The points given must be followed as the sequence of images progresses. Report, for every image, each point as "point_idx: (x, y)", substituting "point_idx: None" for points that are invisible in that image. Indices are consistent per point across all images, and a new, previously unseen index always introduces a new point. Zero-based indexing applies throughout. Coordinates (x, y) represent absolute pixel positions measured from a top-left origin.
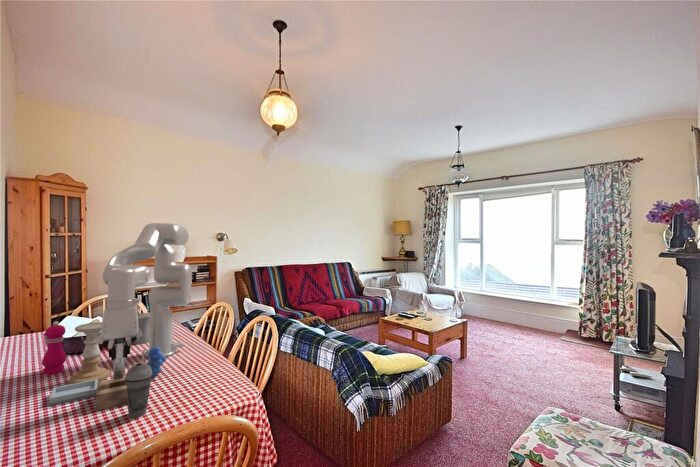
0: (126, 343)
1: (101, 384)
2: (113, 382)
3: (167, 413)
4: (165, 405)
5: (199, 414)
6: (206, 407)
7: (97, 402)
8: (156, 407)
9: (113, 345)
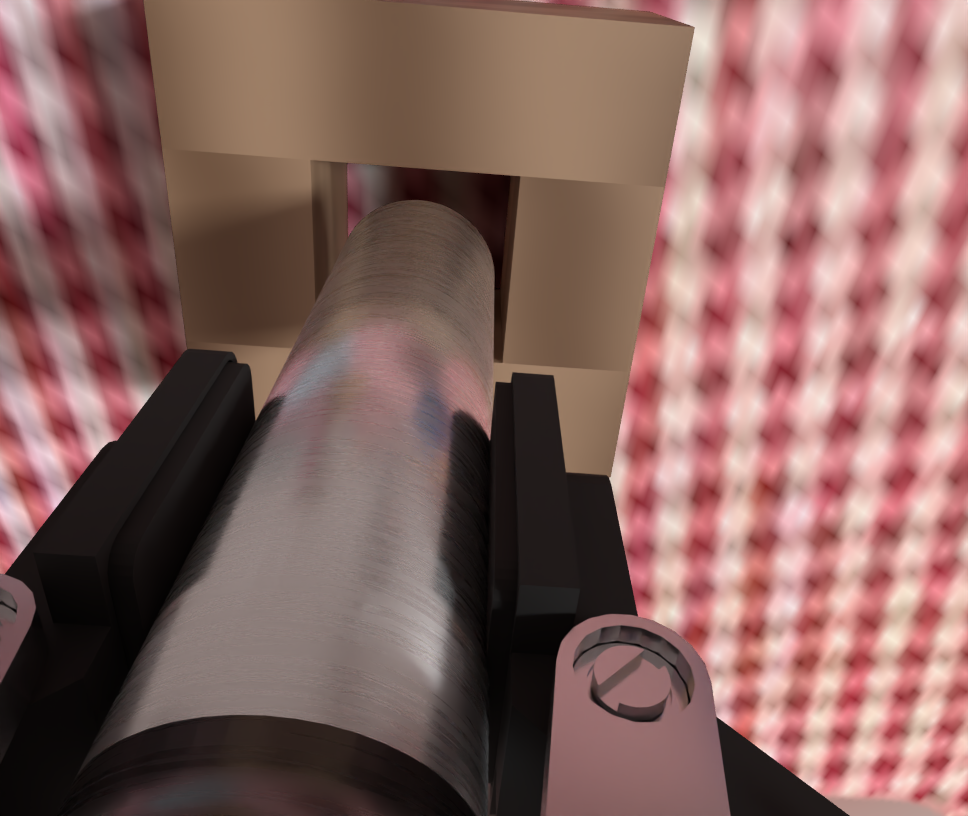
0: (516, 782)
1: (213, 142)
2: (365, 162)
3: (713, 688)
4: (750, 585)
5: (859, 790)
6: (944, 748)
7: None
8: (685, 577)
9: (94, 720)
